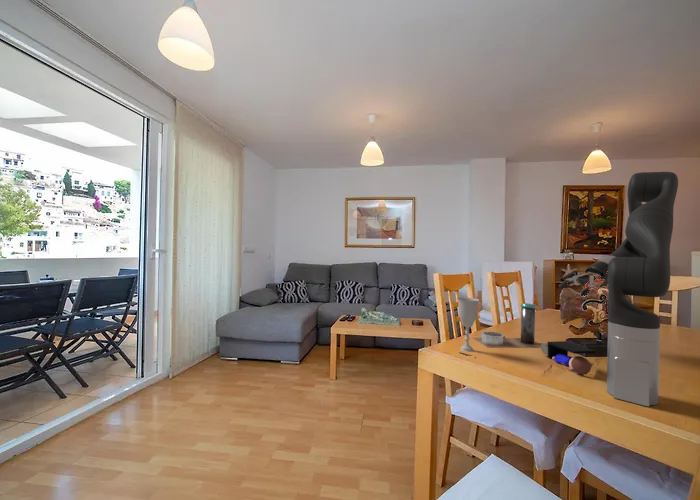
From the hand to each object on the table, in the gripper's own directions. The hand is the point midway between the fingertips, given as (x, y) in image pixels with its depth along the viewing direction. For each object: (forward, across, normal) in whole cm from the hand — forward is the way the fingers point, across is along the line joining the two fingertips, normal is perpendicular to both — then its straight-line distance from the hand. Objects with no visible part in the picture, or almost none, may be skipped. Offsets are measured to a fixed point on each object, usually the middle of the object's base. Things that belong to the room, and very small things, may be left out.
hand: (570, 291), depth 114 cm
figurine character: (+25, +19, +6) cm, 32 cm away
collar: (+33, -4, +4) cm, 33 cm away
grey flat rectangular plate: (+28, -2, +8) cm, 30 cm away
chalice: (+46, +3, -3) cm, 46 cm away
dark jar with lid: (+22, -1, +10) cm, 24 cm away
